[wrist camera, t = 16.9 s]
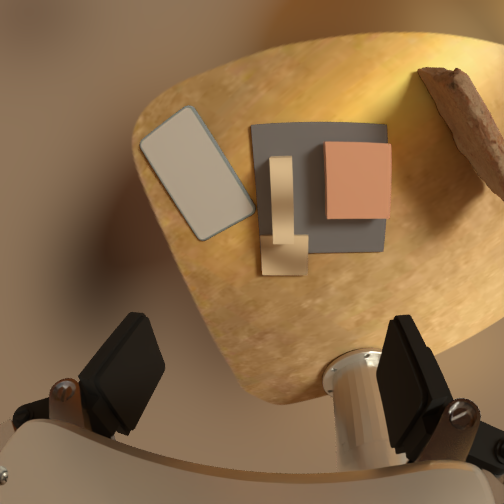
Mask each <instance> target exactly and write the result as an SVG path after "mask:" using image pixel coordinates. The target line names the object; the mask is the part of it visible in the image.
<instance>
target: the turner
mask: <svg viewBox="0 0 504 504" xmlns="http://www.w3.org/2000/svg"><path fill="white" fill-rule="evenodd" d="M269 161H270V181H271V203H272V227H273V235H261V236H260V241H261V260H262V275H308V235H294V204H293V169H292V156H271V157H270V158H269Z"/></svg>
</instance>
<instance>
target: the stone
mask: <svg viewBox="0 0 504 504" xmlns="http://www.w3.org/2000/svg"><path fill="white" fill-rule="evenodd" d="M418 73H419V75H420V77H421V79H422V80H423V82H424V84H425V85H426V86H427V89H428V91H429V93H430V94H431V96H432V98H433V99H434V101H435V103H436V105H437V109H438V111H439V113H440V115H441V117H442V118H443V119H444V120H445V122H446V123H447V125H448V126H449V128H450V130H451V131H452V133H453V139H454V141H455V143H456V146H457V148H458V149H459V151H460V152H461V153H462V154H463V155H465V157H466V158H467V159H468V160H469V162H470V163H471V165H472V167H473V168H474V169H475V170H476V172H477V174H478V175H479V177H480V178H481V179H482V180H483V181H484V182H485V183H486V185H487V186H488V187H489V188H490V189H491V191H492V192H493V193H495V194H497V195H498V196H499V197H500V198H501V199H502V200H503V201H504V139H503V137H502V135H501V133H500V131H499V129H498V127H497V125H496V124H495V122H494V120H493V118H492V116H491V114H490V112H489V110H488V109H487V107H486V105H485V103H484V102H483V100H482V98H481V96H480V95H479V93H478V92H477V90H476V88H475V86H474V85H473V83H472V81H471V79H470V78H469V76H468V75H467V74H466V73H464V72H463V71H461V70H460V69H458V68H455V70H454V71H451V70H446V69H445V68H433V67H432V68H431V67H425V68H422V69H418Z"/></svg>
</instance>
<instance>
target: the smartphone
mask: <svg viewBox="0 0 504 504" xmlns="http://www.w3.org/2000/svg"><path fill="white" fill-rule="evenodd" d="M140 148H141V150H142V152H143V153H144V155H145V156H146V158H147V160H148V161H149V163H150V165H151V166H152V168H153V169H154V171H155V173H156V174H157V176H158V178H159V179H160V181H161V182H162V184H163V185H164V187H165V189H166V190H167V192H168V193H169V195H170V197H171V198H172V200H173V201H174V203H175V204H176V206H177V207H178V209H179V211H180V212H181V214H182V215H183V217H184V218H185V220H186V221H187V223H188V224H189V226H190V227H191V229H192V230H193V232H194V234H195V235H196V237H197V238H198V239H199V240H201V241H205V240H207V239H209V238H211V237H213V236H215V235H216V234H218V233H220V232H222V231H224V230H225V229H227V228H229V227H231V226H233V225H235V224H236V223H238V222H240V221H242V220H244V219H246V218H247V217H249V216H251V215H253V214H254V212H255V210H256V207H255V204H254V203H253V201H252V199H251V198H250V196H249V194H248V193H247V191H246V189H245V188H244V186H243V184H242V183H241V181H240V179H239V178H238V176H237V175H236V173H235V171H234V170H233V168H232V166H231V165H230V163H229V162H228V160H227V158H226V157H225V155H224V154H223V152H222V150H221V149H220V147H219V146H218V144H217V142H216V141H215V139H214V138H213V136H212V134H211V133H210V131H209V130H208V128H207V126H206V125H205V123H204V122H203V120H202V119H201V117H200V116H199V114H198V112H197V111H196V109H195V108H194V107H193V106H185V107H183V108H182V109H181V110H179V111H178V112H176V113H175V114H174V115H172V116H171V117H170V118H168V119H167V120H166V121H165V122H163V123H162V124H161V125H159V126H158V127H157V128H156V129H154V130H153V131H152V132H151V133H149V134H148V135H147V136H146V137H144V138H143V139H142V140H141V142H140Z"/></svg>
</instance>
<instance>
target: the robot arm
mask: <svg viewBox="0 0 504 504" xmlns="http://www.w3.org/2000/svg"><path fill="white" fill-rule="evenodd" d="M164 371H165V363H164V360H163V358H162V355H161V352H160V350H159V347H158V344H157V341H156V338H155V335H154V333H153V330H152V327H151V324H150V321H149V318H148V317H146V316H145V315H144V314H143V313H136V312H130V313H129V314H128V315H127V316H126V318H125V319H124V320H123V321H122V322H121V323H120V325H119V326H118V327H117V328H116V329H115V331H114V332H113V333H112V334H111V335H110V337H109V338H108V339H107V340H106V342H105V343H104V344H103V345H102V346H101V348H100V349H99V350H98V351H97V353H96V354H95V355H94V356H93V358H92V359H91V360H90V362H89V363H88V364H87V366H86V367H85V368H84V369H83V371H82V372H81V373H80V374H79V376H78V377H79V379H80V381H79V383H78V382H77V381H76V380H74V379H72V378H65V379H61V380H59V381H58V382H56V383H55V384H54V385H53V386H52V388H51V389H50V393H49V397H48V398H45V399H42V400H38V401H35V402H32V403H28V404H25V405H23V406H21V407H19V408H18V409H17V410H16V411H15V413H14V415H13V421H12V420H11V419H9V420H7V421H5V422H3V423H2V424H0V504H504V431H502V430H500V429H497V428H495V427H493V426H491V425H489V424H486V423H484V422H482V421H480V419H481V414H480V410H479V408H478V406H477V405H476V404H475V403H474V402H473V401H471V400H469V399H465V398H457V399H455V400H453V398H452V395H451V393H450V390H449V388H448V386H447V383H446V381H445V379H444V376H443V374H442V372H441V370H440V368H439V365H438V363H437V361H436V359H435V357H434V355H433V353H432V351H431V349H430V348H429V347H426V345H425V343H424V341H423V339H422V337H421V335H420V333H419V331H418V329H417V327H416V325H415V323H414V321H413V319H412V317H411V316H410V315H398V316H395V317H394V320H390V322H389V325H388V330H387V334H386V338H385V342H384V345H383V349H382V350H381V349H376V348H364V349H358V350H354V351H351V352H348V353H346V354H344V355H342V356H340V357H338V358H337V359H335V360H334V361H333V362H332V363H331V364H330V365H329V366H328V367H327V368H326V370H325V372H324V374H323V388H324V390H325V392H326V393H327V394H328V395H330V396H331V397H333V401H334V415H335V431H336V432H335V433H336V458H337V472H336V473H317V474H287V473H285V474H283V473H266V472H253V471H242V470H234V469H227V468H220V467H213V466H207V465H202V464H197V463H192V462H187V461H183V460H178V459H174V458H170V457H166V456H162V455H159V454H155V453H152V452H148V451H145V450H141V449H138V448H135V447H132V446H129V445H126V444H123V443H120V442H118V441H116V440H115V436H114V434H115V432H116V431H117V432H118V433H121V434H124V435H127V436H128V435H129V433H130V431H131V430H134V429H135V427H136V425H137V423H138V421H139V419H140V417H141V415H142V413H143V411H144V409H145V407H146V406H147V404H148V402H149V399H150V398H151V396H152V394H153V392H154V390H155V388H156V386H157V384H158V382H159V380H160V379H161V376H162V375H163V373H164Z"/></svg>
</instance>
